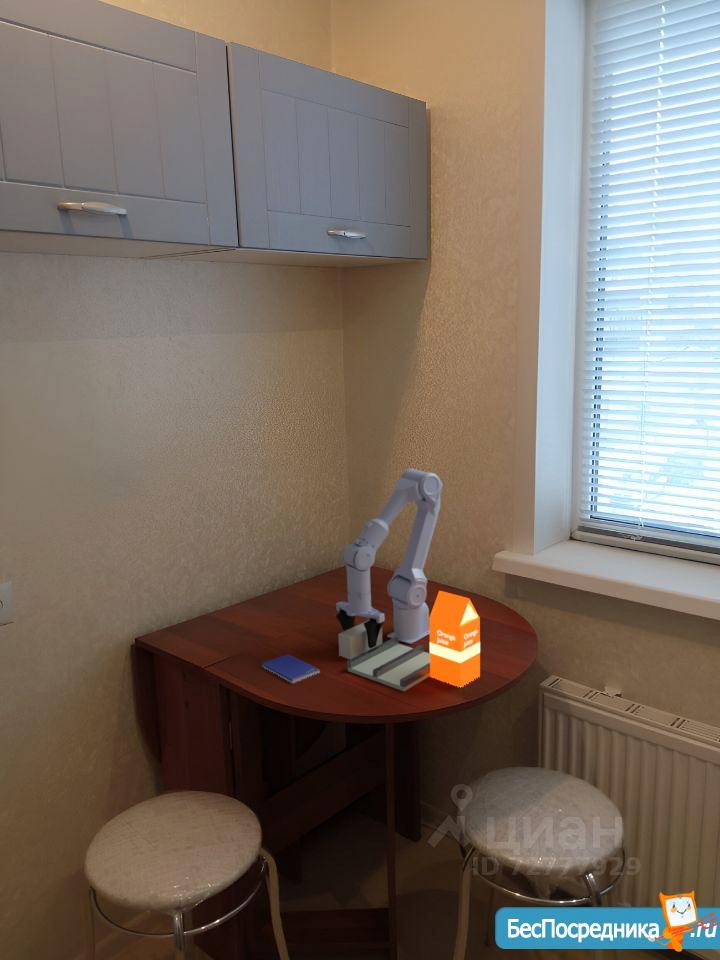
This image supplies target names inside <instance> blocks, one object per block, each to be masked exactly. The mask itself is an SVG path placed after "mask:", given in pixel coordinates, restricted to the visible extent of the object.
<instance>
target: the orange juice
mask: <svg viewBox="0 0 720 960" xmlns="http://www.w3.org/2000/svg"><path fill="white" fill-rule="evenodd" d="M480 620H481V616H479V614H478V613H477V610H476V609H475V607H474V605H473V603H472V600H471V599H470V598H469V597H465V596H462V595H458V594H454V593H451V592H450V593H449V592H447V591H442V590H439V591H438V594H437V595H436V599H435V602H434V603H433V607H432V609H431V613H430V614H429V631H430V634H429V653H430V676H429V677H430V678H432V679H434V678H435V680H438V681H440V682H442V683H445V682H446V684H448V683H449V684H448V685H452V686H455V687H456V686H457V687H456V688H459V687H460V688H459V689H461V687H462V688H464V687H465V686H467V685H469V684H470V683H472V682H474V681H475V680H477V679H479V678H480V677H481V630H480V629H481V621H480ZM478 677H479V678H478ZM476 678H477V679H476ZM474 679H475V680H474ZM471 681H472V682H471ZM469 682H470V683H469ZM466 684H467V685H466ZM464 685H465V686H464Z"/></svg>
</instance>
